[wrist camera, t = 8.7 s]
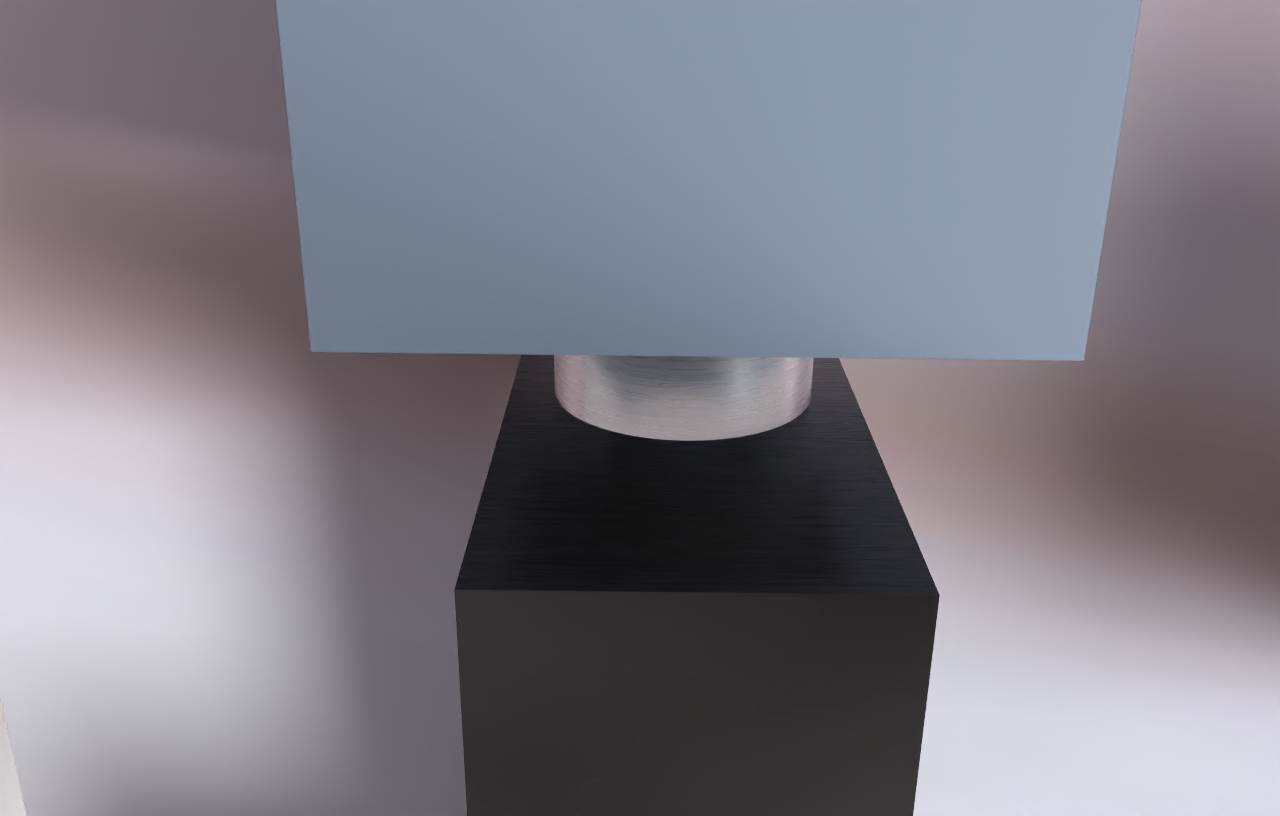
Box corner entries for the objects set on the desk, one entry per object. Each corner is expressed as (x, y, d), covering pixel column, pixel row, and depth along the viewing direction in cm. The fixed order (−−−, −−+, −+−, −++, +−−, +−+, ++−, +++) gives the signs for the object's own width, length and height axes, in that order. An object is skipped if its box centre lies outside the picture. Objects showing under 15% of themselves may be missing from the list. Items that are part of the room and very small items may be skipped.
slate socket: (914, 186, 20) (1083, 360, 12) (441, 180, 20) (310, 352, 12) (945, -139, 19) (1169, -175, 11) (425, -144, 19) (257, -185, 11)
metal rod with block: (787, 946, 24) (845, 1375, 17) (542, 943, 24) (499, 1371, 17) (857, 7, 17) (1002, 74, 10) (516, 4, 17) (425, 69, 10)
